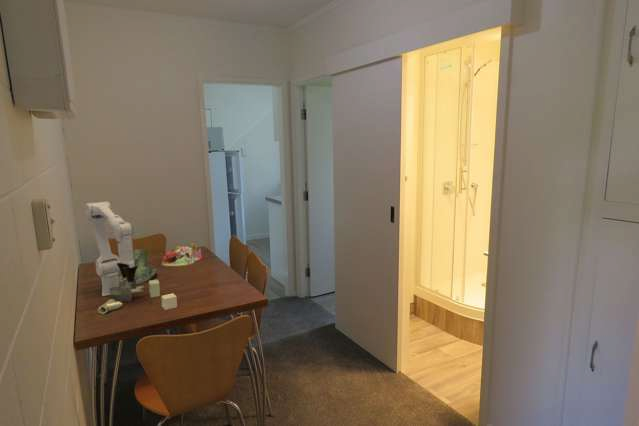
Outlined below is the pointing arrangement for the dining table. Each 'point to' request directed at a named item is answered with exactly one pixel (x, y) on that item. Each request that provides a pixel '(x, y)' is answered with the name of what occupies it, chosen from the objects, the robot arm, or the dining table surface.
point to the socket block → (154, 288)
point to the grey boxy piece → (121, 293)
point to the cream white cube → (169, 301)
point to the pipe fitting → (109, 306)
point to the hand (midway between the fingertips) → (128, 279)
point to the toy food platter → (182, 256)
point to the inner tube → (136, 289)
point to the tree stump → (139, 269)
